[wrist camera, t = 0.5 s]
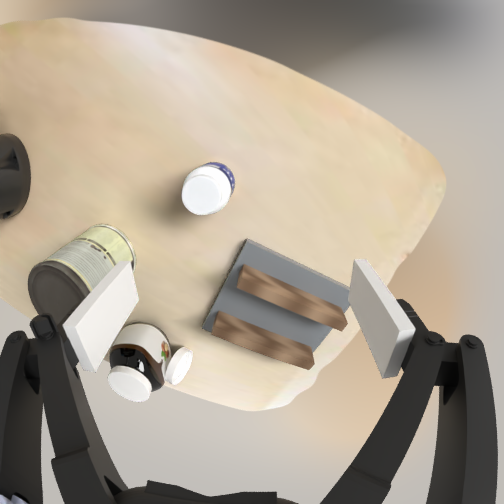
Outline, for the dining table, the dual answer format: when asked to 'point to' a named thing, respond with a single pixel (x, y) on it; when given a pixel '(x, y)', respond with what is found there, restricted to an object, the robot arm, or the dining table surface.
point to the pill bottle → (208, 188)
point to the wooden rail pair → (287, 299)
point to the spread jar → (145, 362)
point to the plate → (270, 313)
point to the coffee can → (77, 269)
